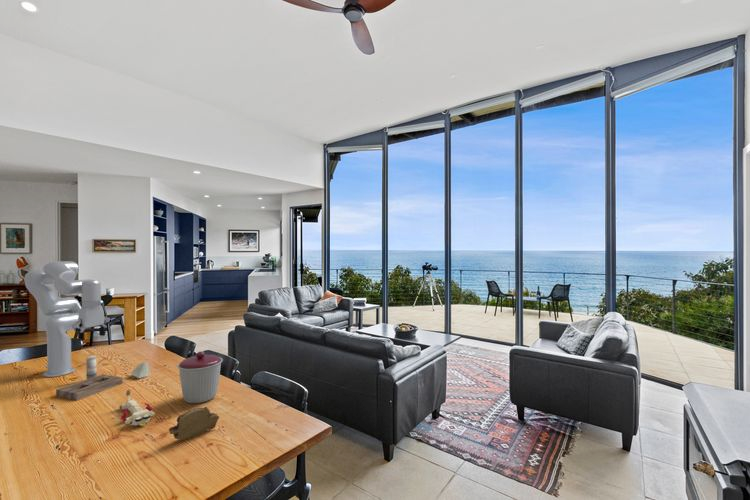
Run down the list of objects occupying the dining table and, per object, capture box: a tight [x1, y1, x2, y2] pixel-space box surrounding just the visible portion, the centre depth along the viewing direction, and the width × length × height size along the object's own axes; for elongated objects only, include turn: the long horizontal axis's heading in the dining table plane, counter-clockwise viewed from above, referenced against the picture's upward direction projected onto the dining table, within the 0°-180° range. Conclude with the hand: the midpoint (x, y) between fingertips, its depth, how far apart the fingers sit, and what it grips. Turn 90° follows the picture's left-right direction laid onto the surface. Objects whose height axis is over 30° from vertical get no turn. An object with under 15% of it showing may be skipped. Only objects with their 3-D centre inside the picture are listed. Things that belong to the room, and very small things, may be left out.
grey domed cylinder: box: [85, 355, 98, 380], centre depth 174 cm, size 4×4×12 cm
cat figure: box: [118, 389, 156, 427], centre depth 136 cm, size 10×9×25 cm
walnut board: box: [55, 374, 123, 401], centre depth 162 cm, size 14×20×3 cm
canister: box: [176, 351, 224, 404], centre depth 153 cm, size 18×18×21 cm
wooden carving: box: [168, 406, 220, 440], centre depth 122 cm, size 16×5×10 cm, turn 141°
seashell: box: [131, 362, 150, 379], centre depth 180 cm, size 8×8×8 cm
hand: (92, 337), depth 174 cm, fingers open, 9 cm apart
